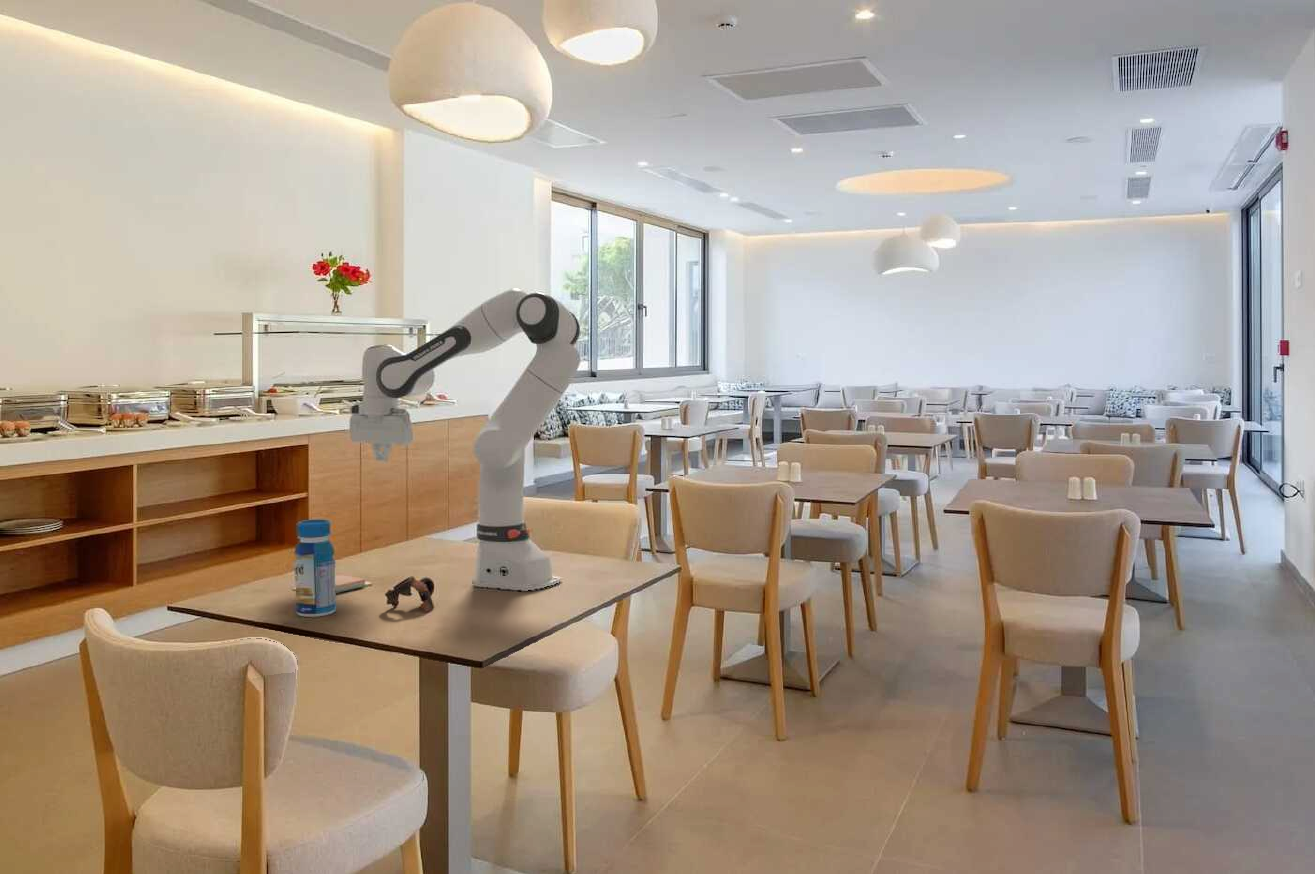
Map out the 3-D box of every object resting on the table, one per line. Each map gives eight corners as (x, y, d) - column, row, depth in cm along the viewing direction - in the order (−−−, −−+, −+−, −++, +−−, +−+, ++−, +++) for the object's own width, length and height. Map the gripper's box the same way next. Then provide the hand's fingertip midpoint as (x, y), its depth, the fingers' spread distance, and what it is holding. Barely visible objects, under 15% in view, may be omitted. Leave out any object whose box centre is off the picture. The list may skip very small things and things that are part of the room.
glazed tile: (364, 579, 238) (340, 574, 243) (337, 585, 231) (313, 580, 236) (365, 585, 238) (340, 581, 243) (337, 592, 232) (313, 587, 236)
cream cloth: (372, 584, 241) (372, 582, 241) (325, 595, 229) (324, 594, 229) (340, 578, 248) (340, 577, 248) (292, 589, 236) (292, 587, 236)
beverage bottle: (336, 616, 211) (333, 523, 210) (294, 619, 209) (291, 525, 207) (337, 606, 219) (334, 517, 218) (296, 609, 217) (293, 519, 215)
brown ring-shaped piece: (421, 618, 211) (400, 586, 210) (392, 632, 215) (372, 601, 215) (452, 592, 221) (432, 561, 221) (424, 606, 226) (405, 576, 225)
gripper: (418, 408, 253) (419, 462, 254) (363, 406, 264) (365, 458, 265) (399, 409, 247) (400, 464, 248) (344, 407, 258) (346, 460, 259)
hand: (381, 461), depth 257 cm, fingers closed
